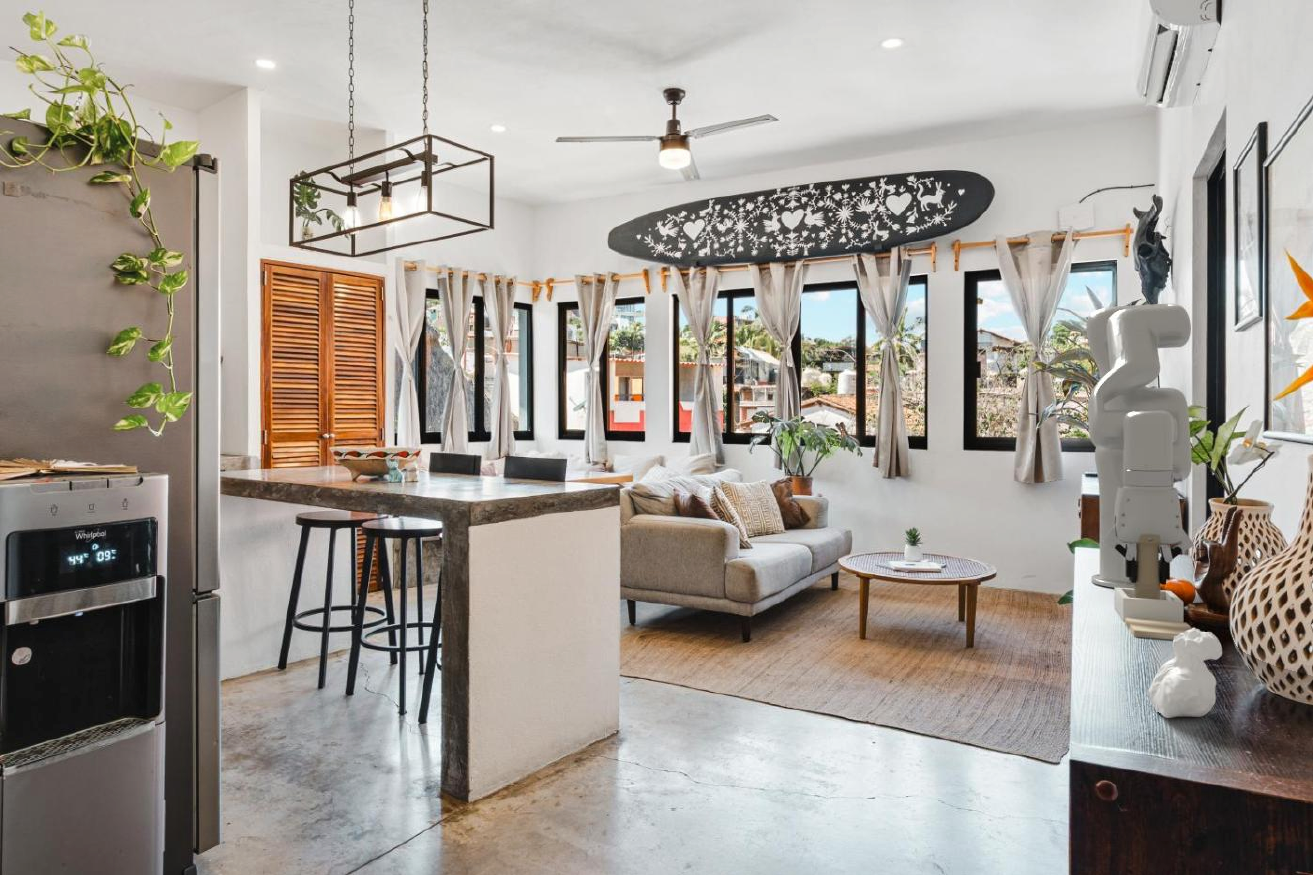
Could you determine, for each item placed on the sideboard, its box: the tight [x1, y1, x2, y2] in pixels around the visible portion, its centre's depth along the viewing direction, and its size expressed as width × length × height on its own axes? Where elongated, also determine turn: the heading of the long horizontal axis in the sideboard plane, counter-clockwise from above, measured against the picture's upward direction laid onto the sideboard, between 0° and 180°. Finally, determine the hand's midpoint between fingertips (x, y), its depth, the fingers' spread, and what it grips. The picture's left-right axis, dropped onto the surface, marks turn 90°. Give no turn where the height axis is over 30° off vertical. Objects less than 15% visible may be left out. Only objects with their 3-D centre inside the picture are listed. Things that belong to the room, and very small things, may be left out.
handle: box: [1134, 534, 1161, 600], centre depth 145 cm, size 5×6×15 cm
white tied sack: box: [1147, 627, 1223, 719], centre depth 97 cm, size 12×8×11 cm
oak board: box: [1124, 618, 1193, 641], centre depth 134 cm, size 9×9×1 cm
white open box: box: [1113, 587, 1184, 622], centre depth 145 cm, size 10×9×4 cm
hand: (1147, 581), depth 145 cm, fingers closed on handle, 3 cm apart
